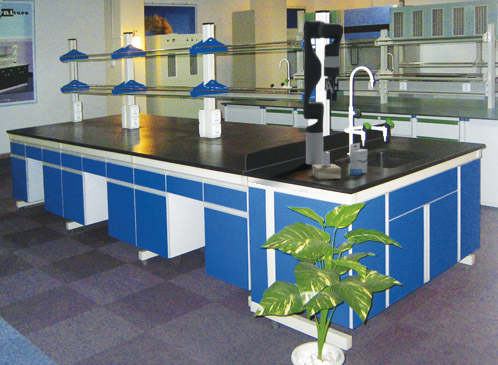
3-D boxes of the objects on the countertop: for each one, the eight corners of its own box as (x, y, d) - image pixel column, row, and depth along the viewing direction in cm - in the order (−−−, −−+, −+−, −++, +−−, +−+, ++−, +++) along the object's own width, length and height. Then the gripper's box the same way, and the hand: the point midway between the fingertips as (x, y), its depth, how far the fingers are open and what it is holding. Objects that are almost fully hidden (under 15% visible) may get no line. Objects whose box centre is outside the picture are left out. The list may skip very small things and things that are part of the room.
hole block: (312, 175, 298) (312, 165, 297) (333, 173, 300) (333, 163, 299) (318, 179, 287) (318, 169, 286) (340, 178, 289) (341, 167, 288)
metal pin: (322, 176, 295) (322, 151, 292) (328, 175, 295) (328, 151, 293) (324, 177, 292) (324, 152, 289) (330, 177, 292) (330, 152, 290)
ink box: (357, 175, 295) (358, 145, 292) (349, 174, 298) (349, 144, 295) (367, 172, 301) (368, 143, 298) (359, 171, 304) (359, 142, 301)
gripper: (319, 66, 296) (319, 99, 300) (328, 66, 283) (328, 101, 286) (334, 65, 298) (334, 99, 301) (344, 66, 284) (343, 101, 287)
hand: (331, 100), depth 294 cm, fingers open, 8 cm apart
